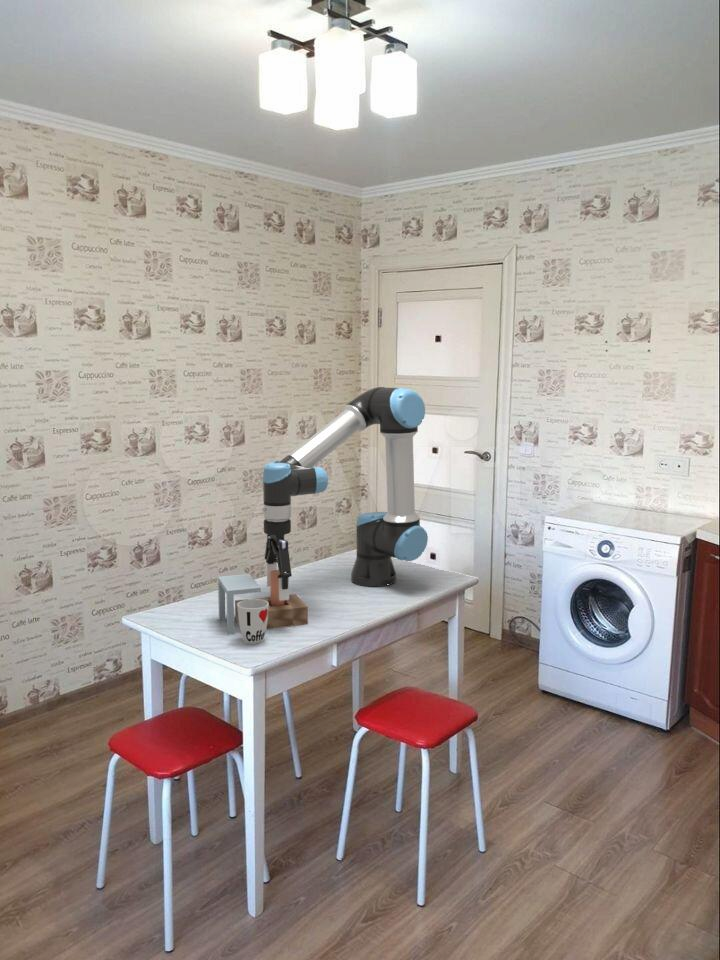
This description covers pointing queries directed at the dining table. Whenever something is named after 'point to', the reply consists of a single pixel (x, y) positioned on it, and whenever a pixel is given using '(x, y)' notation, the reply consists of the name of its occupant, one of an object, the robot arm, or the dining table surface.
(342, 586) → the dining table surface
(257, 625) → the cup
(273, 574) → the dowel
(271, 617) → the socket block
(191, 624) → the dining table surface
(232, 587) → the grey-blue stool
